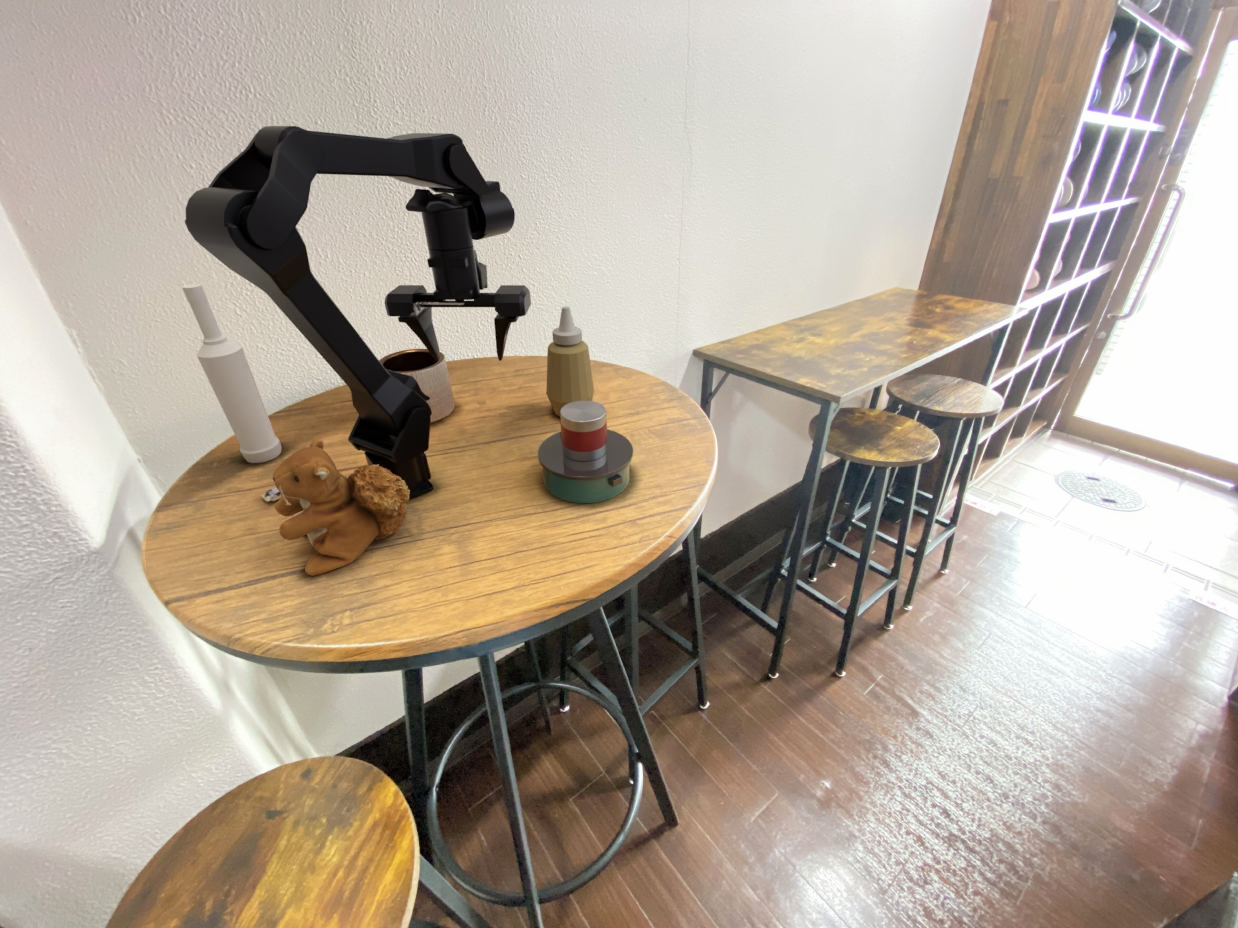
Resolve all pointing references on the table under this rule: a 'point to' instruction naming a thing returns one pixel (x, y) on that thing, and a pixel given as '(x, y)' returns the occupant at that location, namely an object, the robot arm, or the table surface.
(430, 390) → the planter
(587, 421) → the can
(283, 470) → the stuffed squirrel
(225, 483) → the table surface
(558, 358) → the squeeze bottle
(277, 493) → the granola bar
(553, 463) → the round lidded tin
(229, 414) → the bottle
